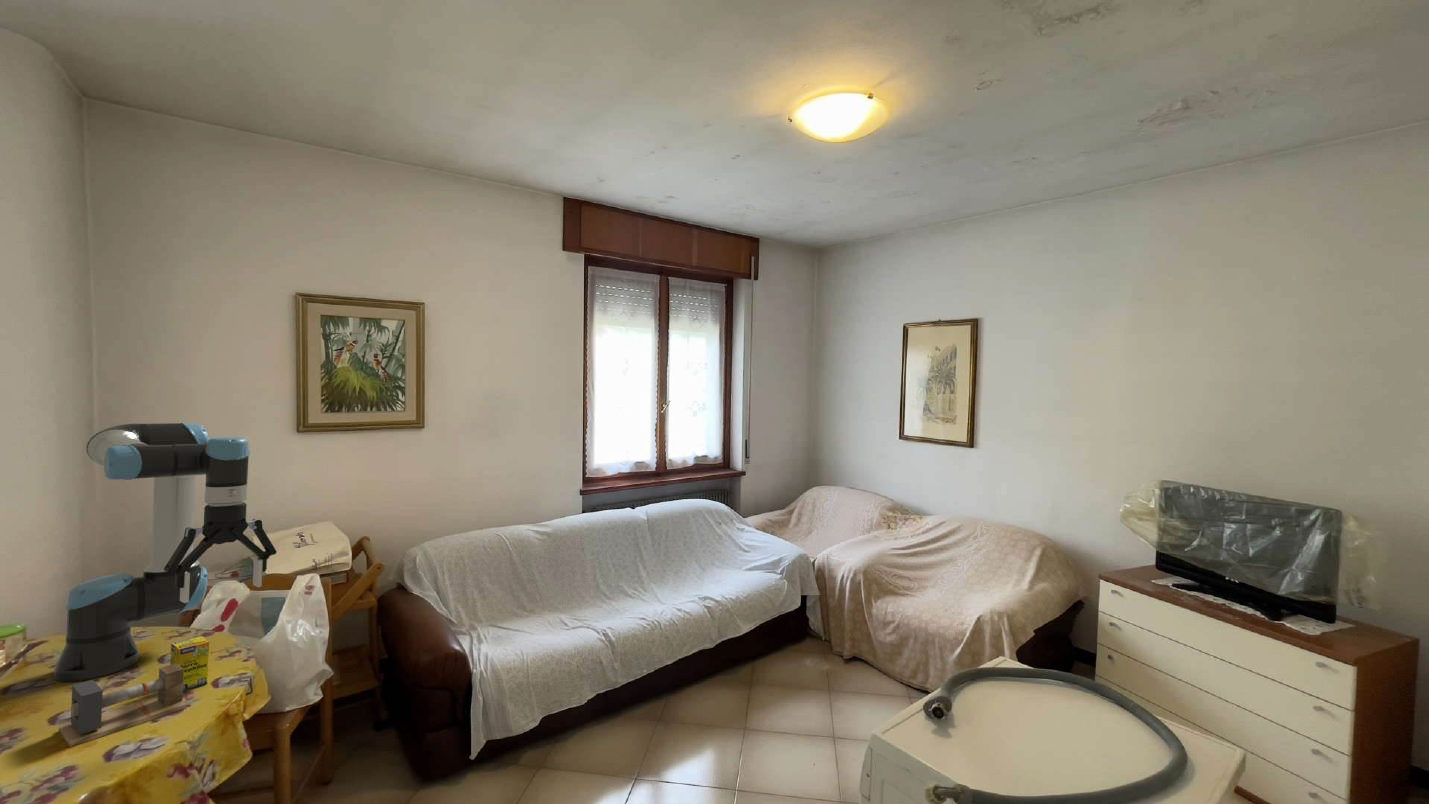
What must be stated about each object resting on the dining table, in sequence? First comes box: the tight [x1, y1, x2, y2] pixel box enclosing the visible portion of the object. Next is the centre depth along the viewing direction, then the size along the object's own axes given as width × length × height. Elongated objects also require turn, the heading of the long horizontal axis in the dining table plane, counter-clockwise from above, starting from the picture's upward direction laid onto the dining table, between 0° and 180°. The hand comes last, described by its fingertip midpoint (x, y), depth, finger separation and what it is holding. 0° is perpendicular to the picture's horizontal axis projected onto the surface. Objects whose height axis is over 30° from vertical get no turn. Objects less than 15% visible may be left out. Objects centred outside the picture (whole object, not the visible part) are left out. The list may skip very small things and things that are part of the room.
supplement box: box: [169, 635, 210, 692], centre depth 141 cm, size 6×6×11 cm
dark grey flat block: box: [70, 679, 103, 734], centre depth 121 cm, size 3×8×8 cm, turn 58°
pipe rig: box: [58, 664, 187, 748], centre depth 126 cm, size 18×10×8 cm, turn 148°
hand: (222, 593), depth 132 cm, fingers open, 13 cm apart
